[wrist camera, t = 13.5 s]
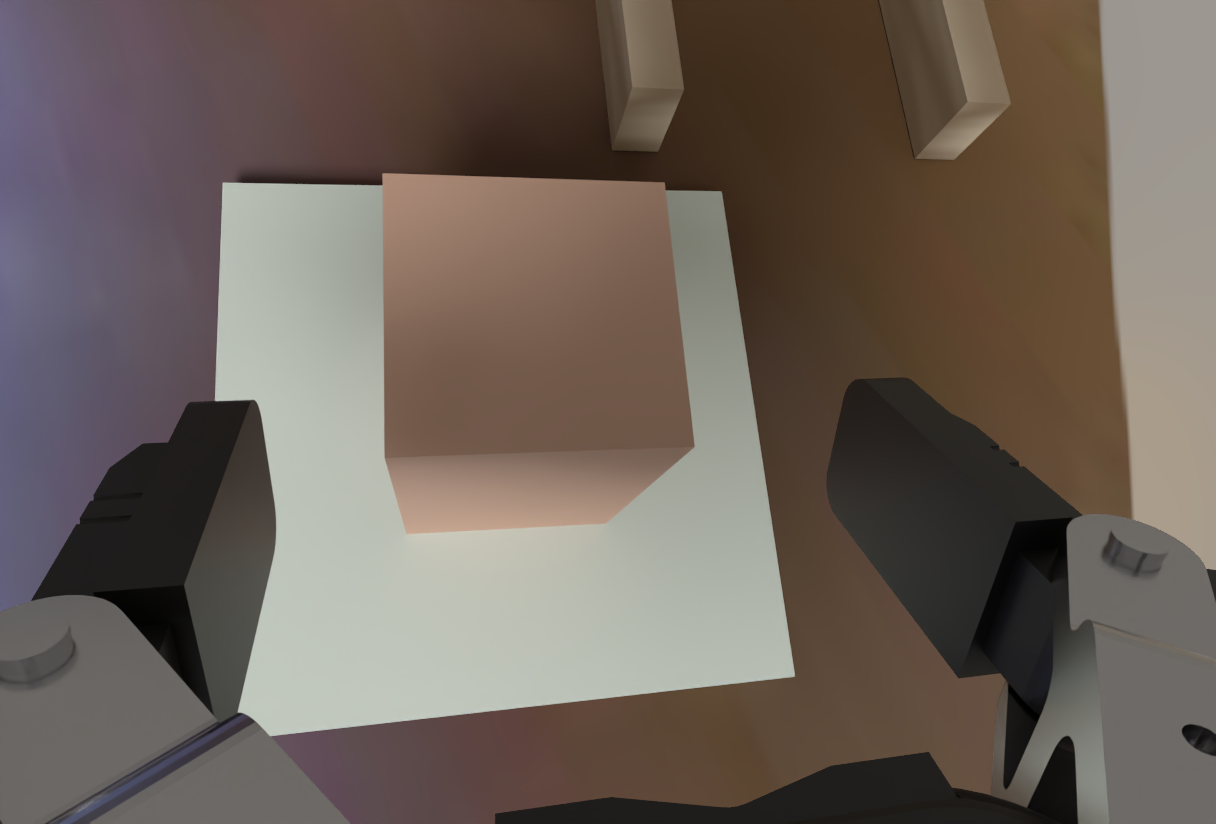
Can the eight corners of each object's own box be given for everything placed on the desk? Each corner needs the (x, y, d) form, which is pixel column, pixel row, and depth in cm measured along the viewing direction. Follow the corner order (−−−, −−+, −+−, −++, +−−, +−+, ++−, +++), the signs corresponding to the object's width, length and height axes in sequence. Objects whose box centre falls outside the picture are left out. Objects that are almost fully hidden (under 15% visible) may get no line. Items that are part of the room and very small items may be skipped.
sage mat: (214, 739, 19) (202, 743, 18) (232, 202, 23) (222, 182, 22) (780, 676, 22) (794, 676, 21) (711, 208, 26) (721, 191, 25)
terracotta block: (406, 533, 20) (384, 458, 13) (403, 343, 22) (382, 172, 14) (606, 523, 21) (695, 446, 14) (591, 342, 23) (664, 182, 15)
